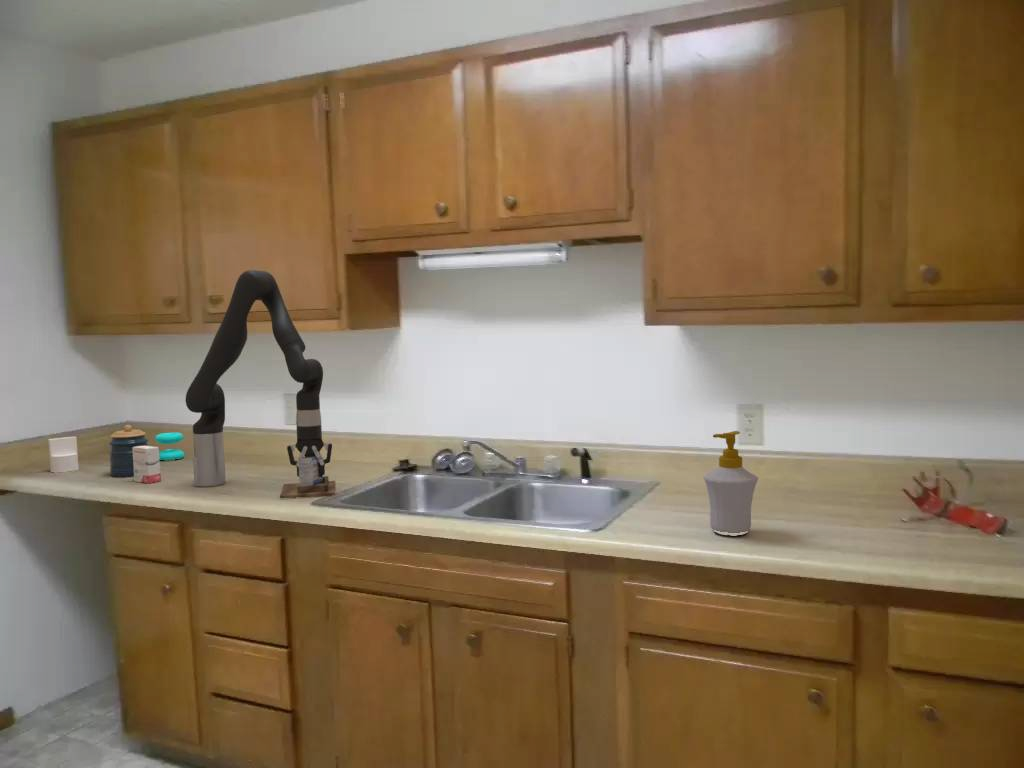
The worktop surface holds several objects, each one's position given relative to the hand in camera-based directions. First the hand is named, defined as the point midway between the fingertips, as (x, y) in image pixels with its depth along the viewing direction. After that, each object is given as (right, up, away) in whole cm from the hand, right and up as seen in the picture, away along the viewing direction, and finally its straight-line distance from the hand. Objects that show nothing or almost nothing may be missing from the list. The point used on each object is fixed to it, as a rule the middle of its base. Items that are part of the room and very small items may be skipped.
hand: (311, 477), depth 255 cm
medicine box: (0, -2, 0) cm, 2 cm away
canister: (-73, -3, +35) cm, 81 cm away
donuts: (-71, -1, +64) cm, 95 cm away
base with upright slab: (-101, -3, +44) cm, 110 cm away
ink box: (-60, -4, +21) cm, 64 cm away
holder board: (-1, -4, 0) cm, 5 cm away
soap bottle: (+116, -7, -57) cm, 129 cm away
